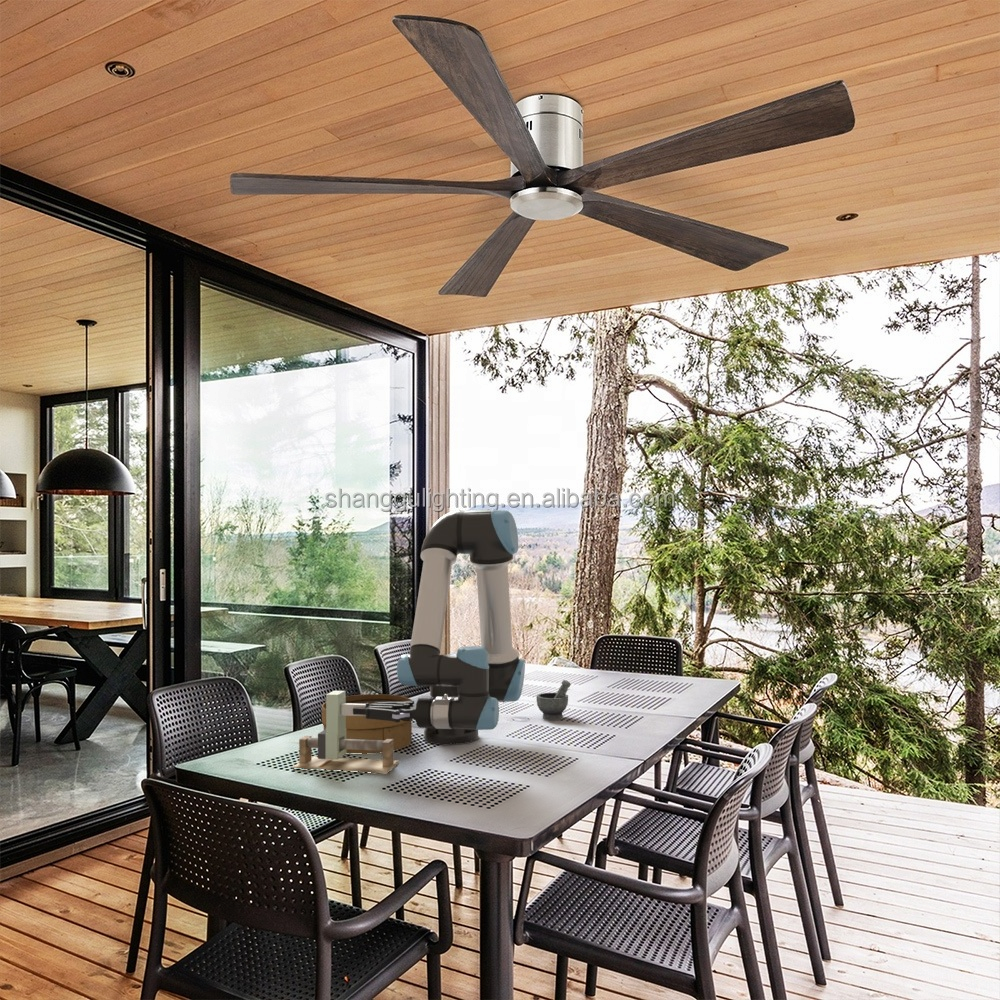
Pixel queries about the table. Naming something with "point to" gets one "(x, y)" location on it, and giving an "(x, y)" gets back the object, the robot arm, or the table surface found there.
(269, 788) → the table surface
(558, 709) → the mortar and pestle
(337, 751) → the pale green upright panel
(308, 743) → the pipe stand
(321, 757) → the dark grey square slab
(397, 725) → the steamer basket
